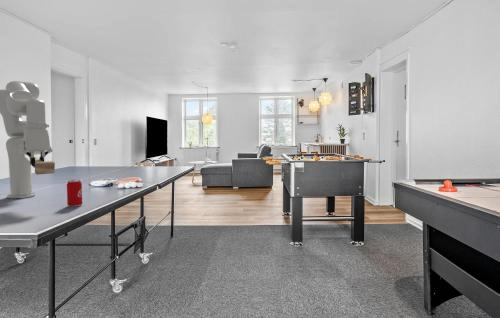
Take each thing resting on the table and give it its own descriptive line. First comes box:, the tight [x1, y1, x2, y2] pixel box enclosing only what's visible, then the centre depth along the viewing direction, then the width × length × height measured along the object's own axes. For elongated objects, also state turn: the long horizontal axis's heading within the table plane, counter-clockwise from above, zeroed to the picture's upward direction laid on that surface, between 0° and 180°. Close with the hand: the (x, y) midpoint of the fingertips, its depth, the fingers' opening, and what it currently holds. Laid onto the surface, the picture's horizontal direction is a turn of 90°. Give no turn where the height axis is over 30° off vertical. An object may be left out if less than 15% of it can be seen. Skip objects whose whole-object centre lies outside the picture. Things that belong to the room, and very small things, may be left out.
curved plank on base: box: [30, 156, 56, 175], centre depth 155 cm, size 20×7×5 cm, turn 47°
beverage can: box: [66, 179, 83, 208], centre depth 156 cm, size 6×6×12 cm
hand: (37, 165), depth 157 cm, fingers closed on curved plank on base, 2 cm apart
